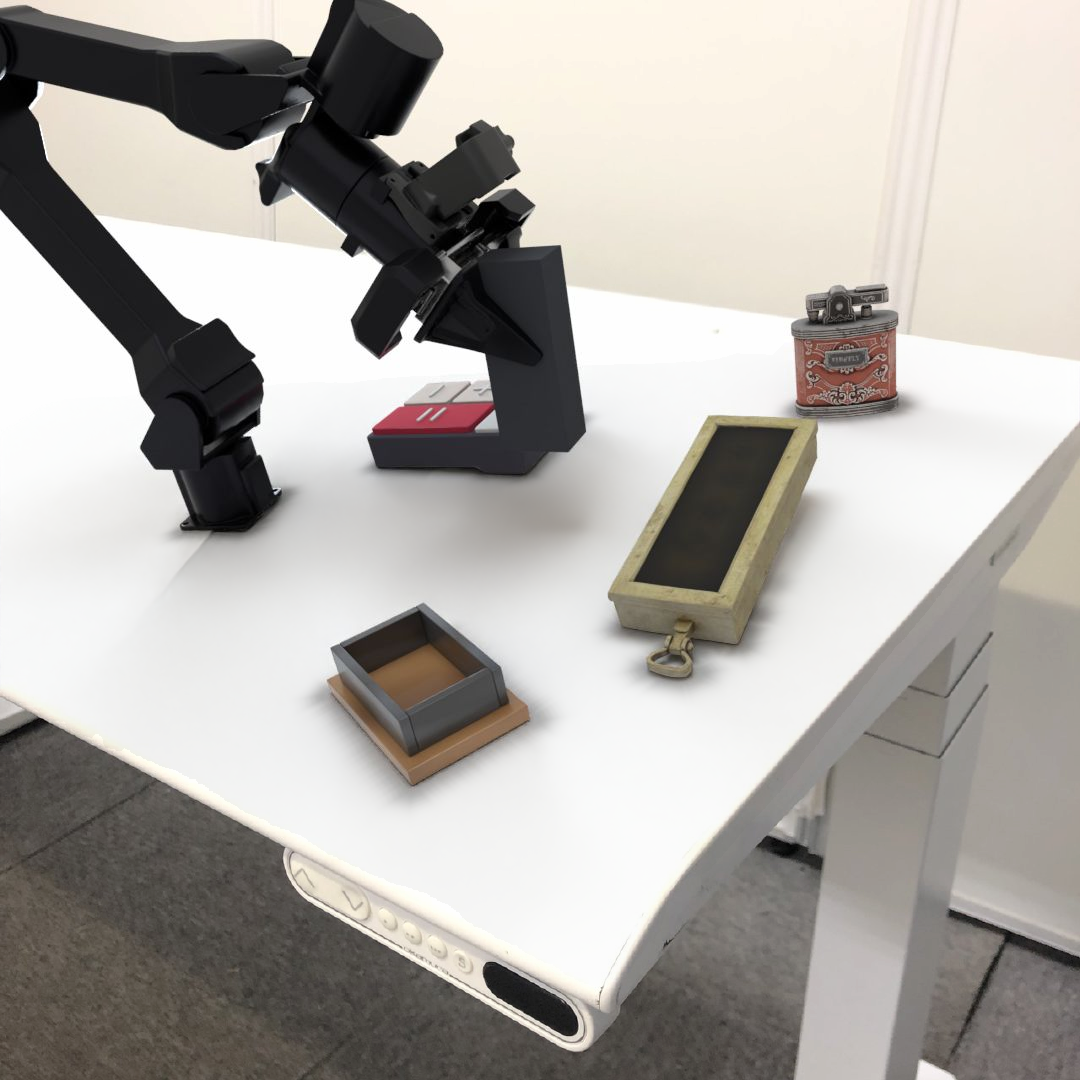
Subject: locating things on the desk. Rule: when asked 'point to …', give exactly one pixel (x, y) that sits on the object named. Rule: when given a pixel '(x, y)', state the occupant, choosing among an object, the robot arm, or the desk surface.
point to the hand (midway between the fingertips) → (549, 349)
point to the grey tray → (423, 691)
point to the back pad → (544, 315)
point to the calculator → (447, 432)
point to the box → (715, 533)
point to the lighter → (845, 354)
